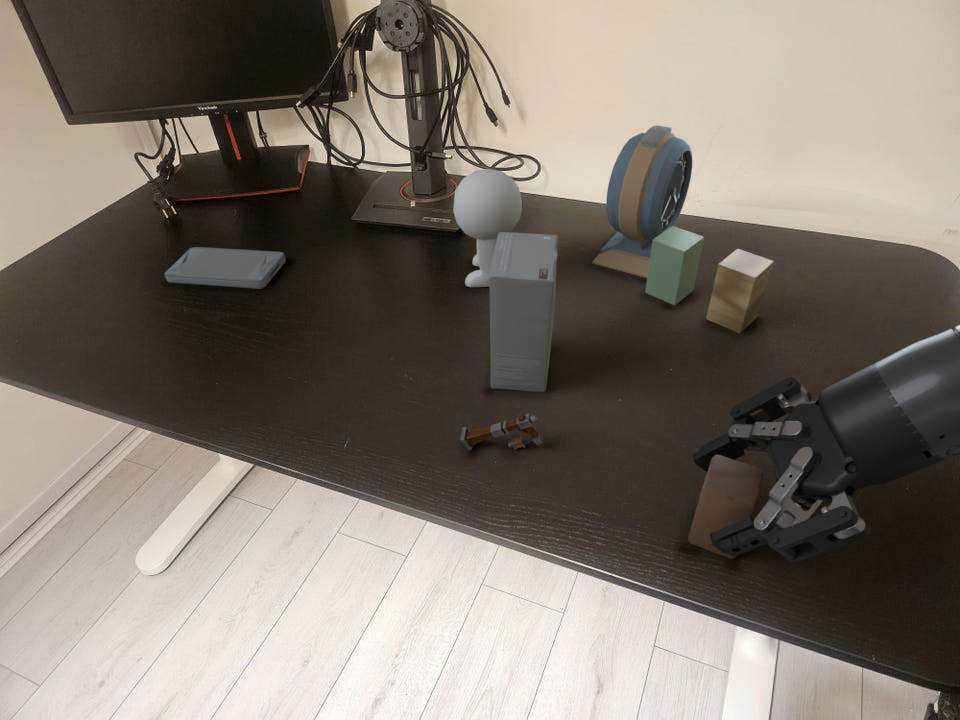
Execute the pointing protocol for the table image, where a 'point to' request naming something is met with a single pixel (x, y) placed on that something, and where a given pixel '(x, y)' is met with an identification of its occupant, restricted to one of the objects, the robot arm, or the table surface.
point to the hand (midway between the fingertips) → (707, 502)
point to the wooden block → (724, 499)
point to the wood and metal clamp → (501, 428)
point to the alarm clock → (644, 197)
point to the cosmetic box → (522, 310)
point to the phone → (226, 267)
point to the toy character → (486, 215)
